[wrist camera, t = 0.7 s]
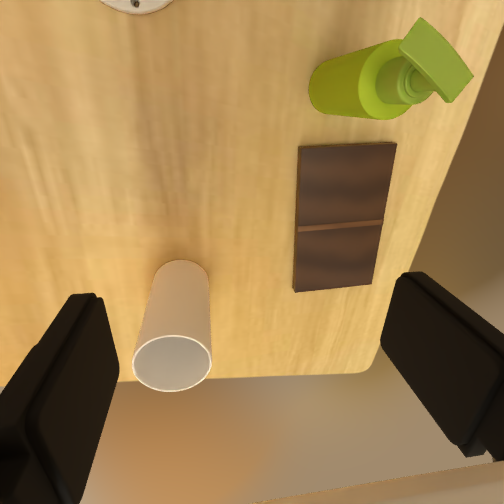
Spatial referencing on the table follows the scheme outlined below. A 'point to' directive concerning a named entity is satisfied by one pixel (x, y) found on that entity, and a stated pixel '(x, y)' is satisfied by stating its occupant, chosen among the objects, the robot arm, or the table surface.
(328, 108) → the soap dispenser
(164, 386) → the cup
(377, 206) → the walnut board
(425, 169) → the table surface
